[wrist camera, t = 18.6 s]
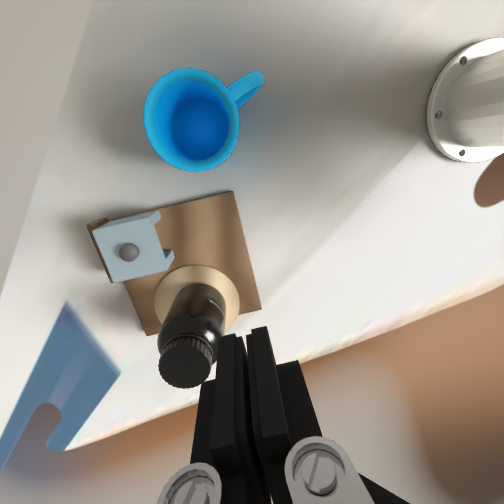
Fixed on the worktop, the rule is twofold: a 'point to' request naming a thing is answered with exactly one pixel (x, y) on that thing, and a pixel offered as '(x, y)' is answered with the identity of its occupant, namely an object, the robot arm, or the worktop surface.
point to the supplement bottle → (191, 335)
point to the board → (195, 259)
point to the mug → (196, 117)
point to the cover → (132, 247)
